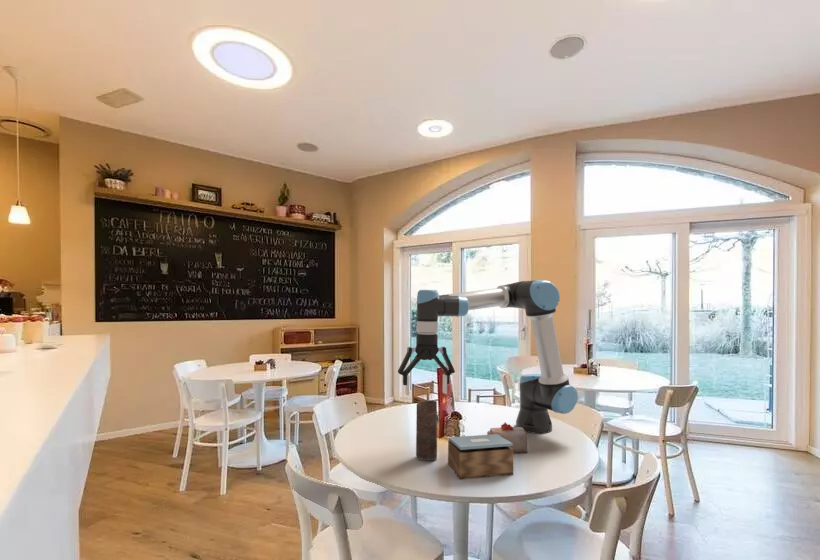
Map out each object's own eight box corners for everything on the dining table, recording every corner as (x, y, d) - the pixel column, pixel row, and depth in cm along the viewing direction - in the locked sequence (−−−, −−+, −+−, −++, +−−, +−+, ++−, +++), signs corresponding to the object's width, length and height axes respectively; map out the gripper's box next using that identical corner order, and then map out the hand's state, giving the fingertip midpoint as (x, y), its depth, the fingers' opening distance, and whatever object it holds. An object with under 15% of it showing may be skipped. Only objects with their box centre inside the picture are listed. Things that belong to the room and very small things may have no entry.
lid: (496, 436, 144) (496, 433, 144) (512, 445, 132) (512, 443, 132) (448, 439, 140) (448, 437, 140) (460, 449, 128) (460, 447, 128)
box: (497, 460, 143) (497, 436, 144) (513, 474, 132) (513, 449, 132) (448, 464, 139) (448, 440, 140) (460, 479, 128) (460, 453, 128)
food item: (491, 455, 148) (491, 427, 148) (486, 447, 156) (486, 421, 156) (528, 454, 149) (528, 427, 149) (521, 446, 157) (521, 420, 157)
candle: (430, 465, 139) (430, 405, 140) (411, 460, 143) (412, 401, 144) (440, 457, 145) (441, 400, 146) (422, 453, 149) (423, 397, 150)
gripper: (456, 332, 152) (456, 390, 151) (390, 332, 147) (389, 392, 146) (464, 334, 145) (463, 395, 144) (394, 334, 139) (393, 397, 138)
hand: (426, 394), depth 145 cm, fingers open, 13 cm apart
